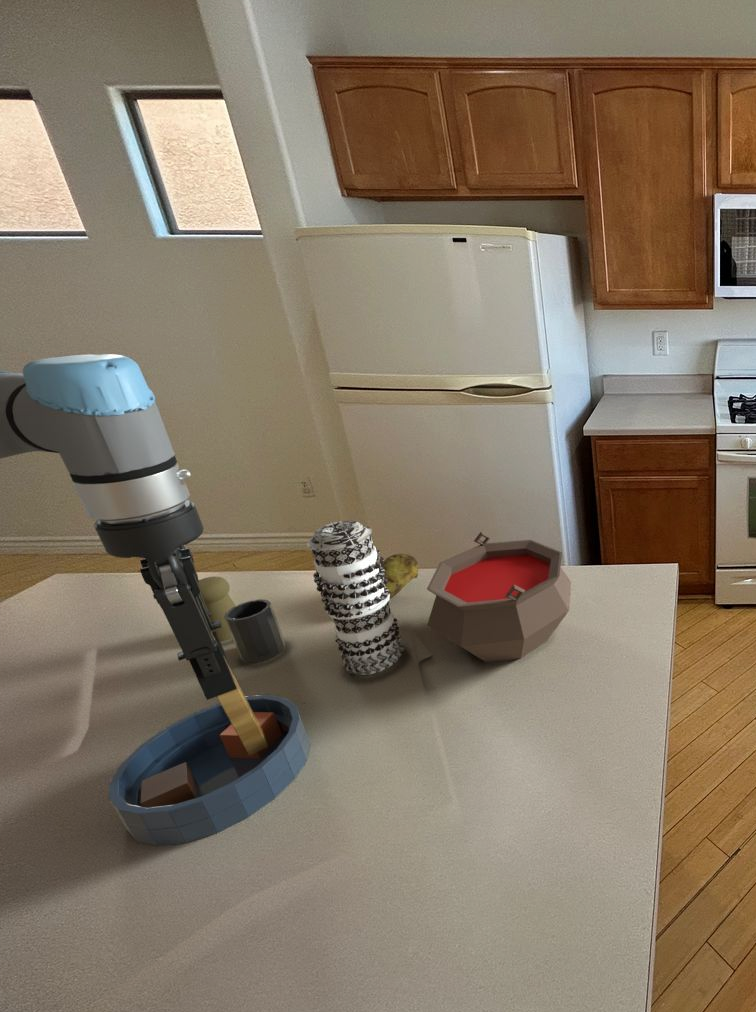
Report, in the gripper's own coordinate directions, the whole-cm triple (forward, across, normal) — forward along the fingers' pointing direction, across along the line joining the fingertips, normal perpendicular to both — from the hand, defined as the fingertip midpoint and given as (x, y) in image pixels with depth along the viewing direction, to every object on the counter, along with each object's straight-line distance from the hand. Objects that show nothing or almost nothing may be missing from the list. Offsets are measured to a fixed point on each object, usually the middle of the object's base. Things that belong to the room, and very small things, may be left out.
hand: (220, 686), depth 66 cm
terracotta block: (+13, +4, -1) cm, 14 cm away
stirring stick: (+11, 0, -1) cm, 11 cm away
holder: (+14, +27, -4) cm, 31 cm away
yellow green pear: (+14, +32, -24) cm, 42 cm away
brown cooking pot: (+14, +5, -36) cm, 39 cm away
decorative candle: (+14, +12, -17) cm, 25 cm away
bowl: (+14, 0, +3) cm, 14 cm away
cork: (+14, +38, 0) cm, 41 cm away
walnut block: (+13, -1, +8) cm, 15 cm away
